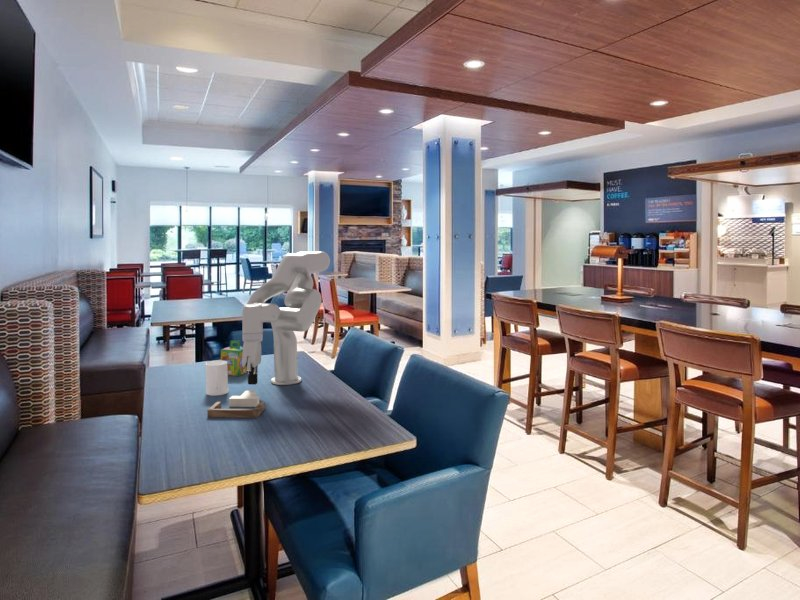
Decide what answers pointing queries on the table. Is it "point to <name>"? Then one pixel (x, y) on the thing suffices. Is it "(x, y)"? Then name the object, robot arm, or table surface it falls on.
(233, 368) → the chalk box
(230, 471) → the table surface
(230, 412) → the brown u-shaped bracket
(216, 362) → the mug
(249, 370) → the robot arm
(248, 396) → the t block
